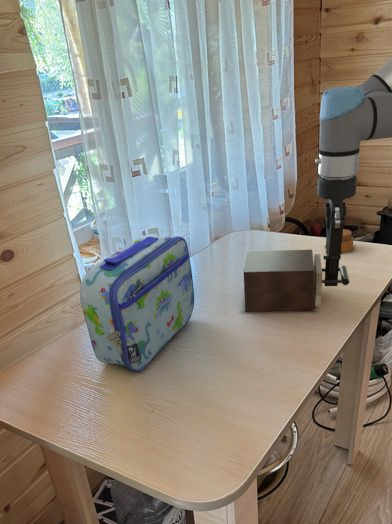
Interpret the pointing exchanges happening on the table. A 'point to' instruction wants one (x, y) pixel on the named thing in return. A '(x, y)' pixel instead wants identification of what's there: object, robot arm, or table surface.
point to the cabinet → (279, 281)
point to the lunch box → (138, 300)
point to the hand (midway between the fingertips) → (330, 284)
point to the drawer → (319, 281)
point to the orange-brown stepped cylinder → (347, 241)
